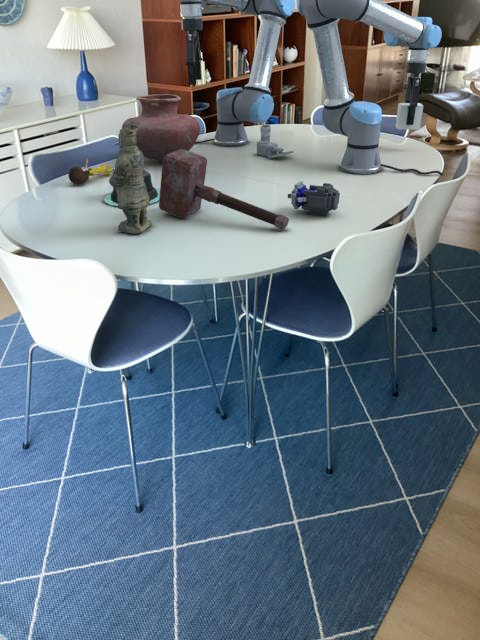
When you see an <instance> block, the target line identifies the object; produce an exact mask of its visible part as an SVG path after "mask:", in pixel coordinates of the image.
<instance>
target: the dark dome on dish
mask: <svg viewBox="0 0 480 640" xmlns="http://www.w3.org/2000/svg"><path fill="white" fill-rule="evenodd" d="M113 175H114V171H112V172H111V176H113ZM143 178H144V182H145V184H146V188H147V192H148V195H149V197H150V204H154V203H157V202H159V198H160V188H156V187H154V185H153V182H152V174H151V172H149V171H148V170H146V169H144V168H143ZM103 200H104V202H105V203H106V204H108V205H109V206H115V207H118V202H117V192H116V189H115V188H114V187H112V191H111V193H108V194H107V195H106V196H104V198H103ZM150 204H149V205H150Z"/></svg>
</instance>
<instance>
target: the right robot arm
mask: <svg viewBox="0 0 480 640" xmlns="http://www.w3.org/2000/svg"><path fill="white" fill-rule="evenodd" d="M296 8H297V11H298V13H299V14H300V15H301V16H302V17H304V18H305V22H306V26H307V29H309V30H310V31H312V35H313V39H314V44H315V48H316V54H317V58H318V63H319V68H320V73H321V78H322V83H323V87H324V93H325V99H324V100H323V107H322V111H321V113H320V119H321V120H320V121H321V123H322V126H323V127H324V128H325V129H326V130H327V131H329V132H331V133H333V134H336V135H340V136H343V137H347V138H346V139H347V140H346V149H345V151H344V154H343V156H342V158H341V162H340V170H341V171H343V172H345V173H349V174H355V175H356V174H357V175H369V174H370V175H371V174H376V173H378V172H380V171H382V167H383V168H387V169H391V170H394V171H397V172H401V173H402V172H403V173H404V172H405V173H406V172H415V173H417V174H419V175H424V176H426V175H431V174H438V175H440V176H442V177H443V176H444V174H443V172H441V171H439V170H430V171H424V172H423V171H421V170H419V169H417V168H398V167H395V166H392V165H388V164H383V163H382V161H381V155H380V150H379V147H380V145H379V144H380V138H381V137H380V136H381V129H382V128H381V127H382V120H383V110H382V108H381V106H380V105H379V104H376V103H374V102H370V101H361V100H359V101H356V99H355V94H354V93H353V92H351V91H350V90H349V88H350V87H349V84H348V78H347V72H346V66H345V61H344V55H343V49H342V45H341V39H340V33H339V27H338V23H339V21H340V19H341V20H342V19H343V20H348V21H351V22H353V23H358V22H362V23H364V24H366V25H368V26H370V27H373V28H375V29H377V30H380V31H381V32H383V41H384V43H385V45H386V46H387V47H394V48H395V47H406V48H408V49H407V55H406V65H405V73H407V74H409V75H408V76H407V82H406V83H407V84H406V88H405V89H406V90H405V97H404V103H410V105H409V106H408V107H407V108H408V115H407V122H406V125H413V123H414V116H415V109H416V107H417V106H418V105H417V104H418V103H419V95H420V87H421V84H422V83H421V82H422V80H421V77H420V75H421V74H424V73H425V72H426V69H427V62H426V61H427V60H428V56H429V55H430V52H429V49H431V50H432V49H435V48H436V47H438V45H440V42H441V39H442V36H443V35H442V29H441V27H440V26H439V25H436V24H433V18H432V17H431V16H430V17H429V16H415V17H414V16H412V15H409V14H407V13H405V12H403V11H401V10H399V9H397V8H395V7H392V6H391V5H388V4H387V3H385V2H382V1H381V0H296Z"/></svg>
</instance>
